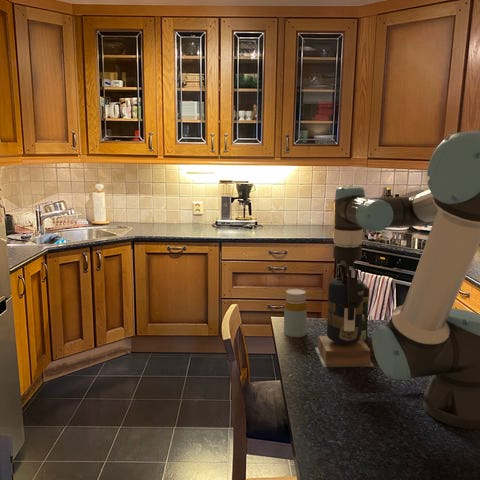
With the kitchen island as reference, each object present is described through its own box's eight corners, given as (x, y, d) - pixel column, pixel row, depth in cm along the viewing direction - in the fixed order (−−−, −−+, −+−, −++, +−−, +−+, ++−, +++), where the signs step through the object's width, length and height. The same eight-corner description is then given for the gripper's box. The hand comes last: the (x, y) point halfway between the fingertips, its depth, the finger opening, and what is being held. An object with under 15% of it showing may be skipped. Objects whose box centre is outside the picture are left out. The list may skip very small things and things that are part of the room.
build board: (377, 377, 126) (378, 372, 126) (321, 378, 126) (321, 373, 125) (359, 349, 144) (359, 344, 144) (309, 349, 143) (309, 345, 143)
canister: (339, 330, 141) (341, 271, 138) (368, 339, 134) (371, 277, 131) (319, 339, 135) (321, 277, 131) (348, 349, 128) (351, 283, 125)
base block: (370, 364, 130) (370, 350, 130) (325, 365, 130) (326, 351, 129) (359, 348, 141) (359, 335, 140) (318, 348, 141) (318, 335, 140)
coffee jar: (336, 333, 156) (338, 277, 153) (361, 332, 157) (363, 277, 153) (344, 345, 147) (346, 286, 143) (370, 344, 147) (373, 285, 144)
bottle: (309, 335, 154) (310, 290, 151) (300, 343, 148) (301, 296, 146) (290, 331, 158) (290, 287, 155) (280, 338, 152) (280, 292, 149)
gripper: (374, 253, 119) (369, 339, 123) (351, 237, 141) (348, 310, 145) (343, 253, 119) (340, 339, 123) (325, 237, 140) (323, 310, 144)
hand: (344, 323), depth 134 cm, fingers closed on canister, 9 cm apart
